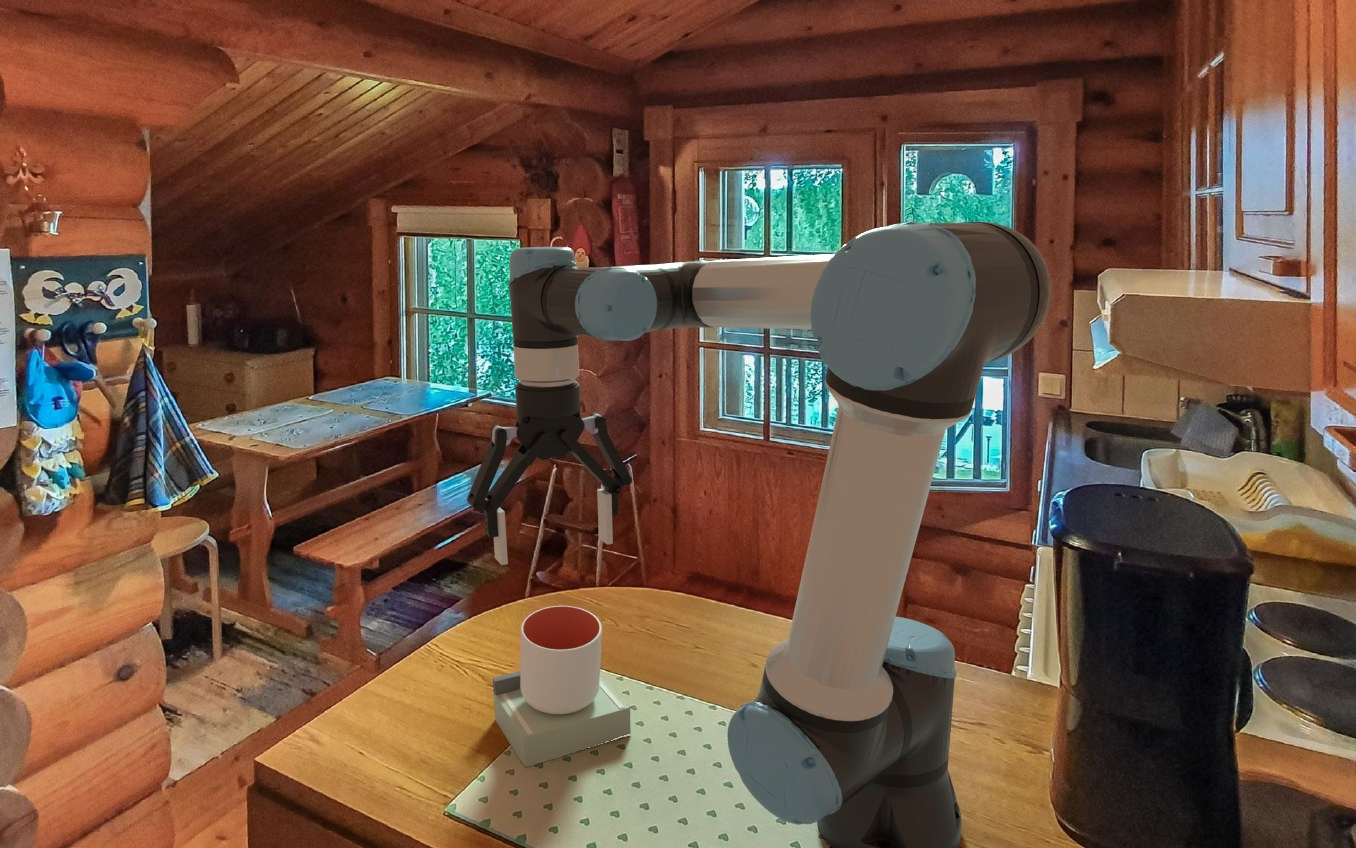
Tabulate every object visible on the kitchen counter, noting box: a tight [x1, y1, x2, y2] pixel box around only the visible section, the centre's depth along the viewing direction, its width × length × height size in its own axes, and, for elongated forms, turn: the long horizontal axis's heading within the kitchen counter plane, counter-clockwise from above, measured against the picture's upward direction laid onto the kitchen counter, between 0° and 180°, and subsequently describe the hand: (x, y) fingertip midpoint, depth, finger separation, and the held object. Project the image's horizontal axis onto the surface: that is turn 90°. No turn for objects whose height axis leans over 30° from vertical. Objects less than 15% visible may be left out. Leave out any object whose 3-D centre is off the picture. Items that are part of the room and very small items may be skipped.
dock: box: [492, 671, 632, 768], centre depth 116 cm, size 12×14×6 cm
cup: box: [520, 605, 603, 714], centre depth 114 cm, size 10×10×10 cm
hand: (554, 551), depth 112 cm, fingers open, 13 cm apart
